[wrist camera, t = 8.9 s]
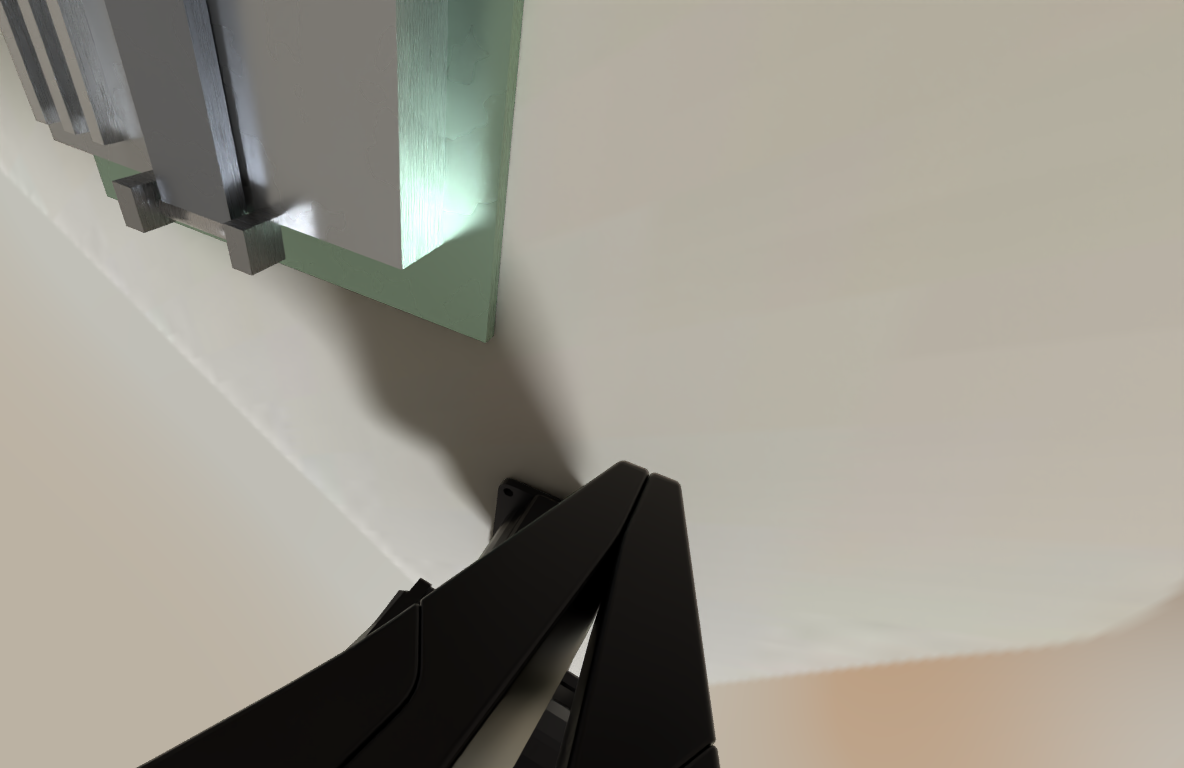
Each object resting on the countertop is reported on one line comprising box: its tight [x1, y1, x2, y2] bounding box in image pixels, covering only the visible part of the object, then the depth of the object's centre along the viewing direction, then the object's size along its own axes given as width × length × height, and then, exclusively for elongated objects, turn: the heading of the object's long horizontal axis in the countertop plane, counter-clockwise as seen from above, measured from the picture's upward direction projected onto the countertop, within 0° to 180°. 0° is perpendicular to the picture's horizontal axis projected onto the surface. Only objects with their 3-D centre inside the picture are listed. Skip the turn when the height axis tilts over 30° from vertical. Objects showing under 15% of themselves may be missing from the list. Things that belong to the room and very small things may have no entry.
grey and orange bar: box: [104, 0, 248, 240], centre depth 16 cm, size 13×3×1 cm, turn 169°
